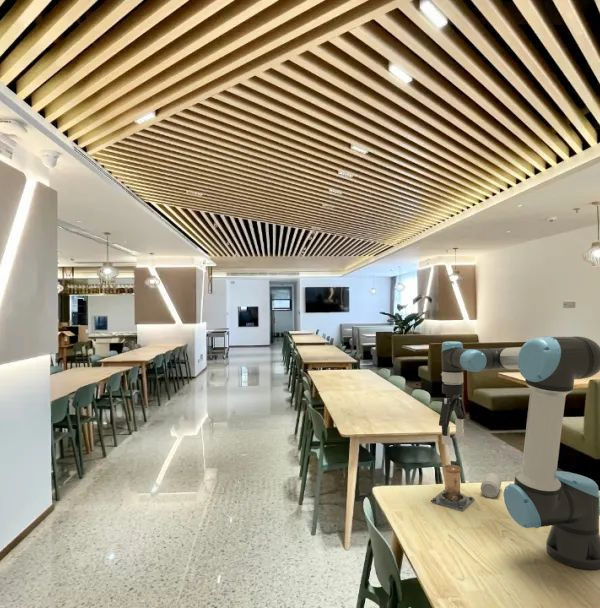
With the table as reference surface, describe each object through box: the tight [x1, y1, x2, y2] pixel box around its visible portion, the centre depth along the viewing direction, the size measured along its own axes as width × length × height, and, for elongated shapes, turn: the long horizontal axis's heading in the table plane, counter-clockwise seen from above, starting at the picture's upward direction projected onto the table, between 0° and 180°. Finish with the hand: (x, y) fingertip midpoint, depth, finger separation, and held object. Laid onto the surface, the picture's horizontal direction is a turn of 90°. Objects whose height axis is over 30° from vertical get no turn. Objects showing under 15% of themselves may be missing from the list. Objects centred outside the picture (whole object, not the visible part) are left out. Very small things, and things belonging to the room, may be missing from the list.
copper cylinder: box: [443, 464, 462, 500], centre depth 172 cm, size 6×6×12 cm
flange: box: [430, 489, 476, 512], centre depth 172 cm, size 12×12×2 cm
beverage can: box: [480, 472, 502, 499], centre depth 180 cm, size 6×6×12 cm
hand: (453, 440), depth 172 cm, fingers open, 13 cm apart
